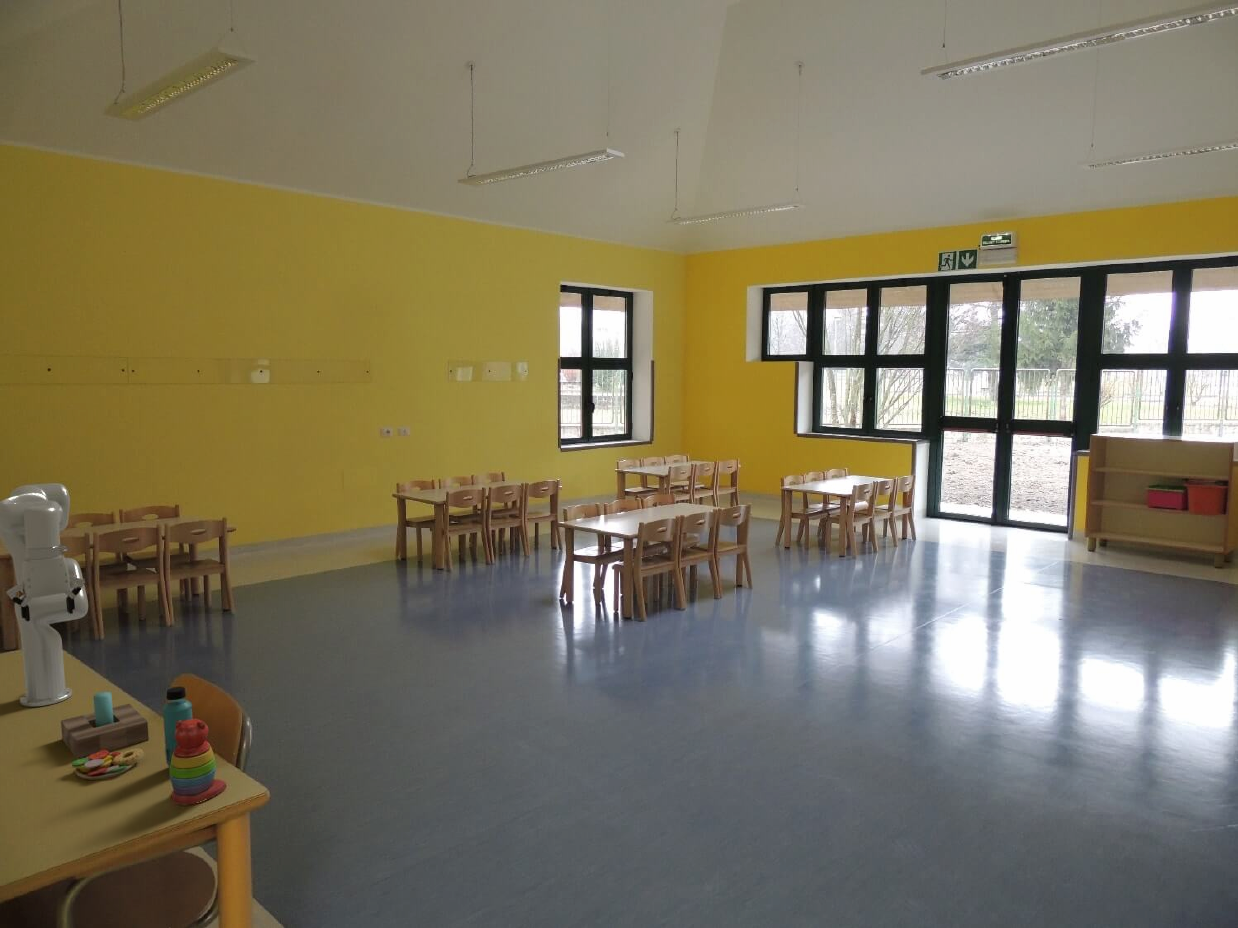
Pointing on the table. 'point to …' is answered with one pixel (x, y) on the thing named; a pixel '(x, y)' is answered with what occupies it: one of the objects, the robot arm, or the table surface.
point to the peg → (103, 709)
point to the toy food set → (106, 764)
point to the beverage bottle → (174, 717)
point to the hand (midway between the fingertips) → (49, 616)
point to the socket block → (104, 732)
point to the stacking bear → (193, 764)
